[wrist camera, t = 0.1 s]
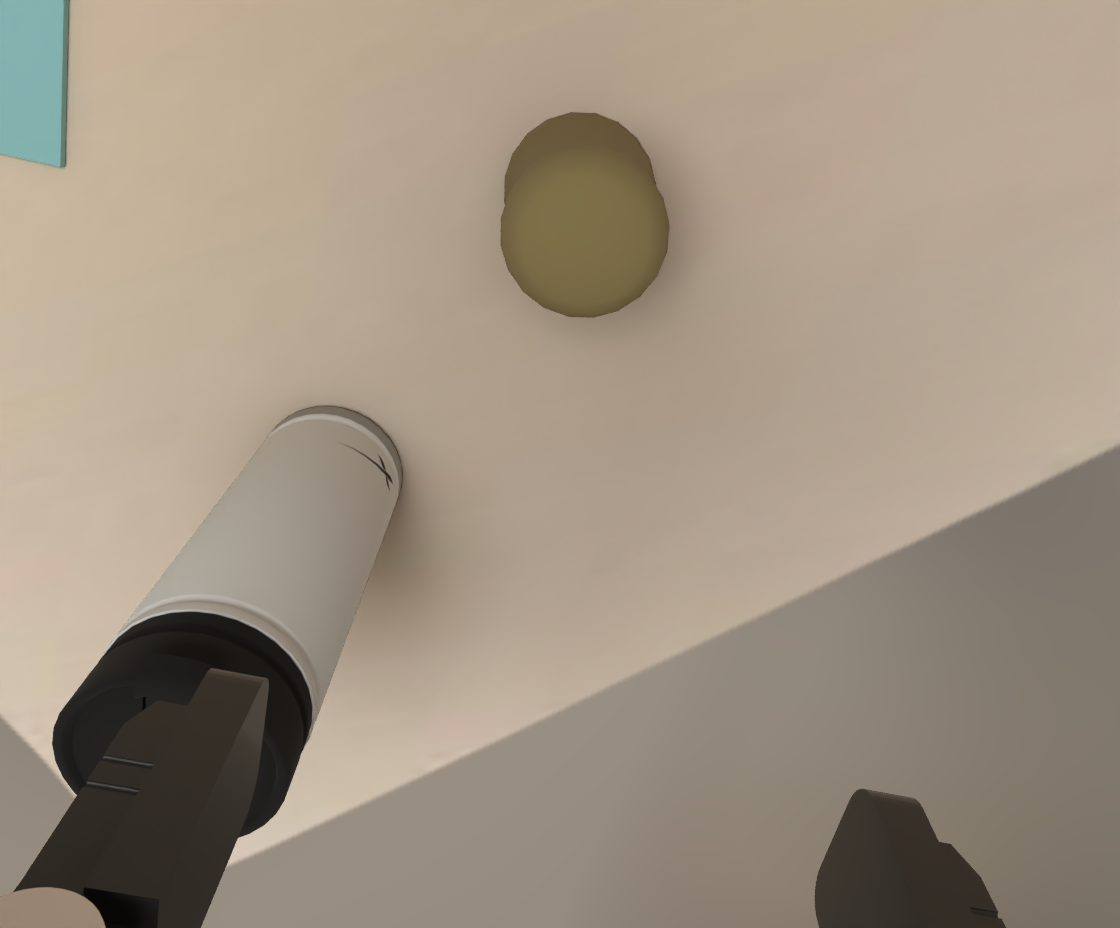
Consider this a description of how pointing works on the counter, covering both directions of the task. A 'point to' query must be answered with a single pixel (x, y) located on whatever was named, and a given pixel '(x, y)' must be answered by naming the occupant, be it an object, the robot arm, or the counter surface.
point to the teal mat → (34, 79)
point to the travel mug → (253, 597)
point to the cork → (582, 216)
